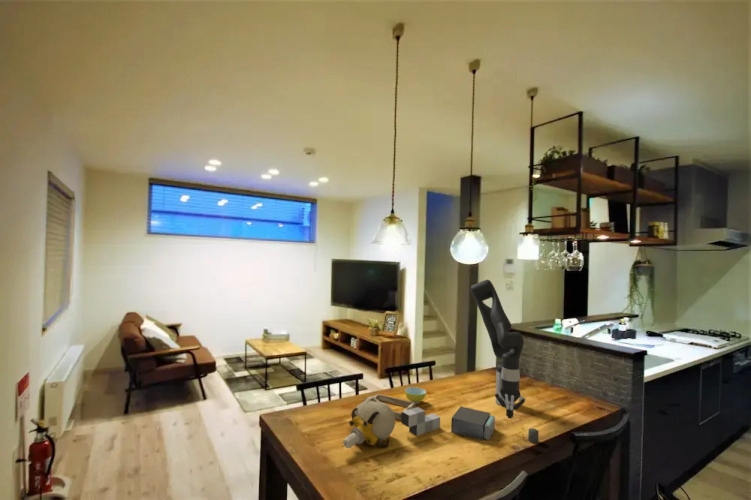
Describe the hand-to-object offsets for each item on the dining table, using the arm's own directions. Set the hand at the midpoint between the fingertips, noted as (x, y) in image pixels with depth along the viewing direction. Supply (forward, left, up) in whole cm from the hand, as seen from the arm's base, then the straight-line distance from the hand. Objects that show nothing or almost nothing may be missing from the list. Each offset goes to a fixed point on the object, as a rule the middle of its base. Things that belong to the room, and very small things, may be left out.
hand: (509, 417), depth 160 cm
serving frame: (0, -59, -9) cm, 59 cm away
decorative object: (+37, -54, -10) cm, 66 cm away
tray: (0, -15, -9) cm, 17 cm away
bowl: (-16, -51, -10) cm, 54 cm away
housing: (0, -17, -9) cm, 19 cm away
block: (+14, -36, -10) cm, 40 cm away
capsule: (-4, +9, -9) cm, 14 cm away
